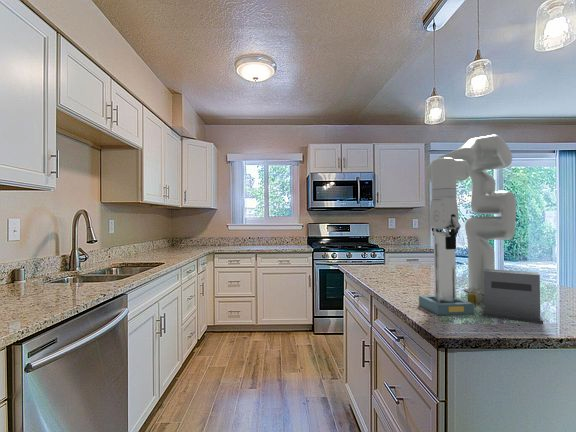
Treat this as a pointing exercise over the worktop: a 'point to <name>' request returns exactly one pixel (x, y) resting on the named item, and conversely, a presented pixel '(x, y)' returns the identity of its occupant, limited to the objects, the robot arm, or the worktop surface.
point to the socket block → (446, 306)
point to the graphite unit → (512, 295)
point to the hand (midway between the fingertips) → (444, 247)
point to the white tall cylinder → (444, 270)
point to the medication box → (474, 296)
